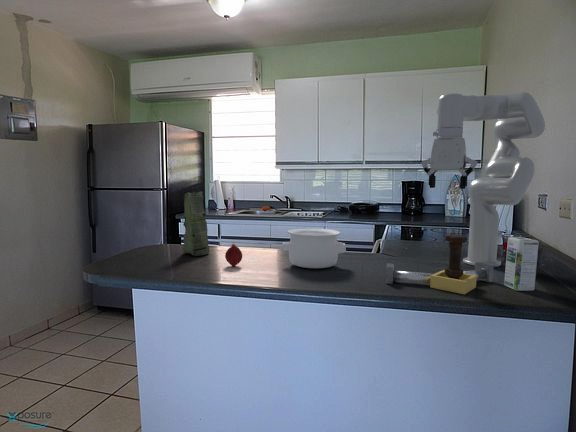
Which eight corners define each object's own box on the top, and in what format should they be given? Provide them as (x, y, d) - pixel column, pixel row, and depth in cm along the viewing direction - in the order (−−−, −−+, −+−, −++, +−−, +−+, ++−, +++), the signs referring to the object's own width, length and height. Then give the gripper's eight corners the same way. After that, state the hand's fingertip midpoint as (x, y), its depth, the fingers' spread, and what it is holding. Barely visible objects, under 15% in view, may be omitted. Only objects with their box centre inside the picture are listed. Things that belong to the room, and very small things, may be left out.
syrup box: (503, 285, 116) (506, 236, 115) (522, 285, 117) (525, 236, 115) (515, 291, 111) (519, 240, 109) (535, 290, 111) (539, 240, 110)
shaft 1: (433, 283, 117) (434, 266, 117) (434, 287, 113) (435, 270, 112) (386, 279, 121) (387, 263, 121) (385, 283, 117) (386, 266, 116)
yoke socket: (442, 281, 120) (443, 269, 120) (475, 287, 114) (476, 275, 113) (430, 287, 113) (430, 275, 113) (464, 294, 107) (465, 281, 106)
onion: (245, 265, 137) (245, 242, 136) (236, 269, 132) (236, 245, 131) (231, 263, 139) (231, 241, 139) (221, 267, 134) (221, 244, 133)
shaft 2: (466, 286, 115) (467, 269, 114) (451, 282, 119) (452, 265, 119) (492, 281, 120) (493, 265, 120) (478, 277, 125) (479, 262, 124)
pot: (342, 261, 146) (343, 229, 144) (347, 273, 128) (348, 236, 127) (283, 260, 147) (283, 227, 145) (280, 271, 130) (280, 234, 128)
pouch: (185, 258, 148) (184, 191, 145) (177, 252, 158) (176, 190, 156) (214, 255, 153) (213, 191, 151) (204, 250, 164) (204, 190, 161)
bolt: (462, 285, 115) (465, 235, 114) (465, 290, 110) (468, 237, 109) (441, 284, 117) (444, 234, 115) (443, 288, 112) (446, 236, 110)
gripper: (418, 135, 128) (416, 187, 130) (474, 131, 117) (471, 189, 119) (427, 136, 134) (425, 187, 136) (482, 133, 123) (479, 188, 124)
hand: (447, 188), depth 127 cm, fingers open, 9 cm apart
